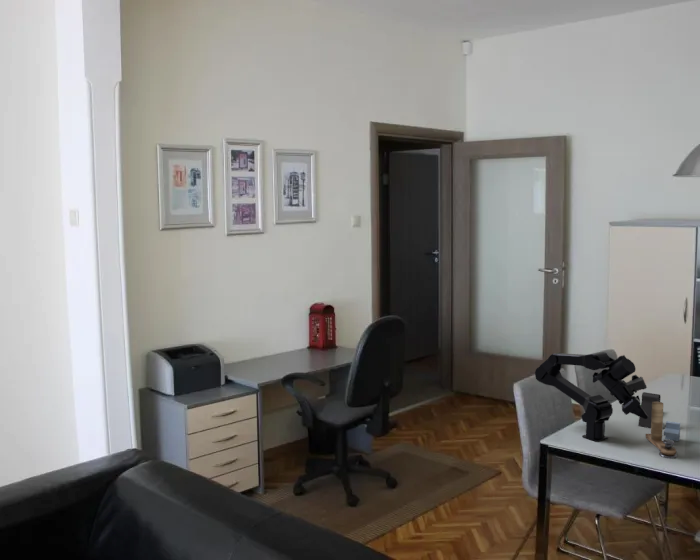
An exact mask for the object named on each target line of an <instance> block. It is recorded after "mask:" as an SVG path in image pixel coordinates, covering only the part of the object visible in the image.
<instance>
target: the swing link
mask: <svg viewBox="0 0 700 560" xmlns="http://www.w3.org/2000/svg"><path fill="white" fill-rule="evenodd" d="M663 424H664V402H661V401H660V402H652V417H651V428H650V433H645V439H647V440H648V442H650V443H651V444H653V446H655V447H656V448H657V449H658V450H659V452H660V453H662V454H664V455H671V456H672V455H676V454H677V448H675V447H673V446H672V448H671V449H667V448H665V444H664V443H663V427H664V426H663Z"/></svg>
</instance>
